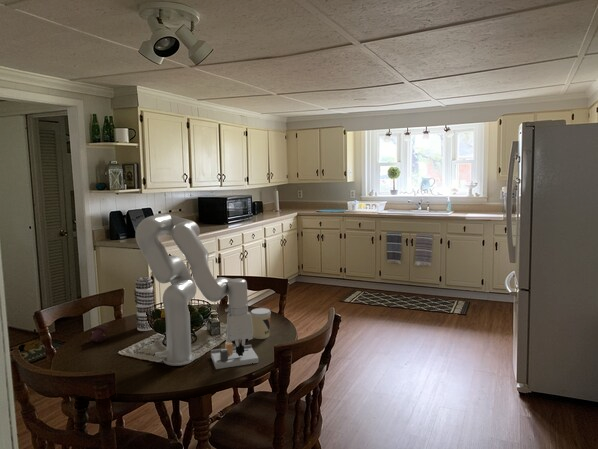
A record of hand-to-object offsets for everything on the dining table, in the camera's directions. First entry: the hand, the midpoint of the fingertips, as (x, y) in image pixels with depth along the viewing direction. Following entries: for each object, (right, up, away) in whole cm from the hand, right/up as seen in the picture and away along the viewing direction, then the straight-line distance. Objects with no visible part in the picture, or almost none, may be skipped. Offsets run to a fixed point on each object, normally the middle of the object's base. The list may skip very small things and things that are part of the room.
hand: (240, 354), depth 183 cm
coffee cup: (+6, 0, +30) cm, 30 cm away
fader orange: (-5, -1, +5) cm, 8 cm away
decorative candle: (-51, +1, +41) cm, 66 cm away
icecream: (-67, -1, +24) cm, 71 cm away
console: (-3, -3, +3) cm, 5 cm away
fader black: (-6, -2, -2) cm, 7 cm away
